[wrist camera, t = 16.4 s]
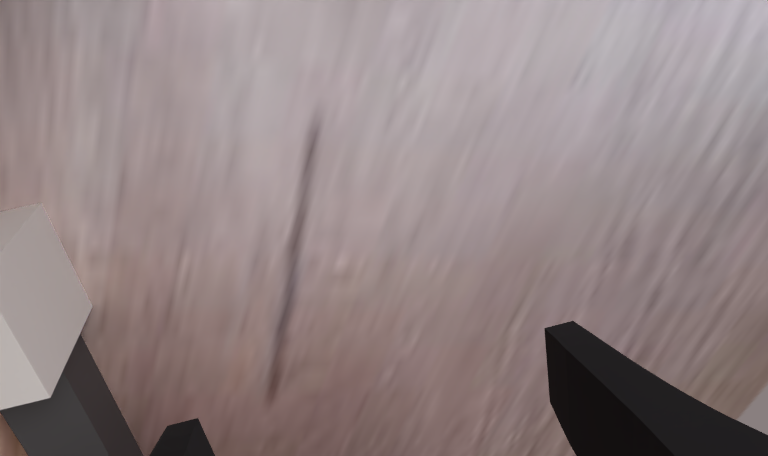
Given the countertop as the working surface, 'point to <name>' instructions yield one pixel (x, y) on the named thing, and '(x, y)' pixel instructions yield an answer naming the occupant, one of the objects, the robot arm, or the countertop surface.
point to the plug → (50, 348)
